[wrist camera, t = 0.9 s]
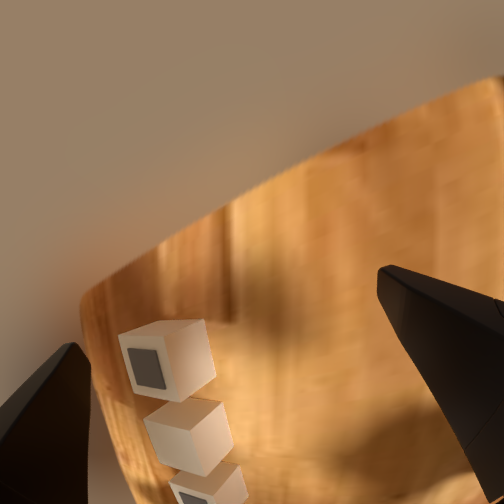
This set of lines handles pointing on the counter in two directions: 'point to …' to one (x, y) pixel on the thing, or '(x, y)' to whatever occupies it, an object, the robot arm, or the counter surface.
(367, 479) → the counter surface
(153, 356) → the labelled cube
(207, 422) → the plain cube
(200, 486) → the labelled cube a
